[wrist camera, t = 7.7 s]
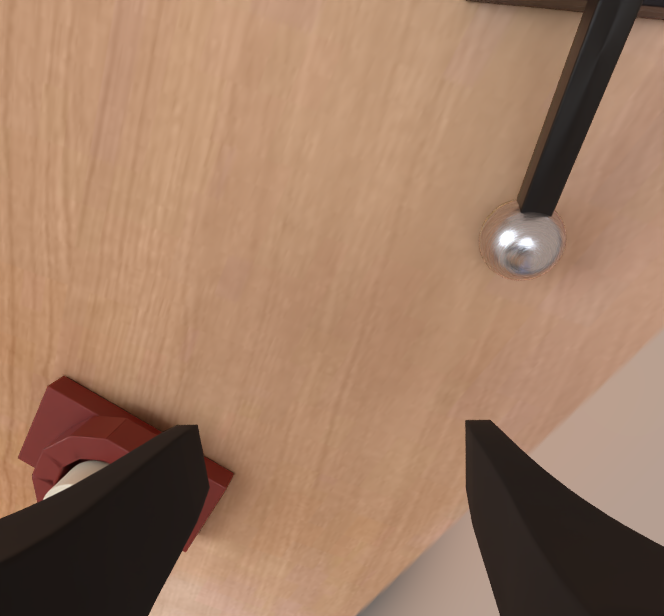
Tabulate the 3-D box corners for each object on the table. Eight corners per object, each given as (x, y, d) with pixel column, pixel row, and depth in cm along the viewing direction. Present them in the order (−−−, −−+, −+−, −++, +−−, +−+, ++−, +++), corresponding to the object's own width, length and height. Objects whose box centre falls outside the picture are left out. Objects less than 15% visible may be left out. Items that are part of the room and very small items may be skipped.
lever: (540, 257, 19) (555, 301, 17) (467, 247, 19) (472, 290, 17) (884, -539, 8) (1068, -727, 6) (707, -541, 8) (815, -722, 6)
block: (240, 463, 23) (220, 504, 21) (189, 544, 25) (164, 591, 23) (68, 363, 23) (23, 391, 20) (29, 454, 25) (-17, 491, 22)
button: (150, 485, 21) (130, 512, 20) (122, 535, 22) (100, 564, 21) (82, 446, 21) (55, 470, 19) (57, 498, 22) (30, 525, 20)
